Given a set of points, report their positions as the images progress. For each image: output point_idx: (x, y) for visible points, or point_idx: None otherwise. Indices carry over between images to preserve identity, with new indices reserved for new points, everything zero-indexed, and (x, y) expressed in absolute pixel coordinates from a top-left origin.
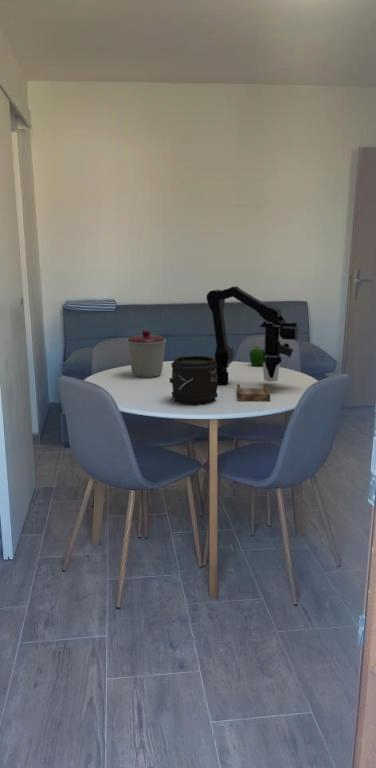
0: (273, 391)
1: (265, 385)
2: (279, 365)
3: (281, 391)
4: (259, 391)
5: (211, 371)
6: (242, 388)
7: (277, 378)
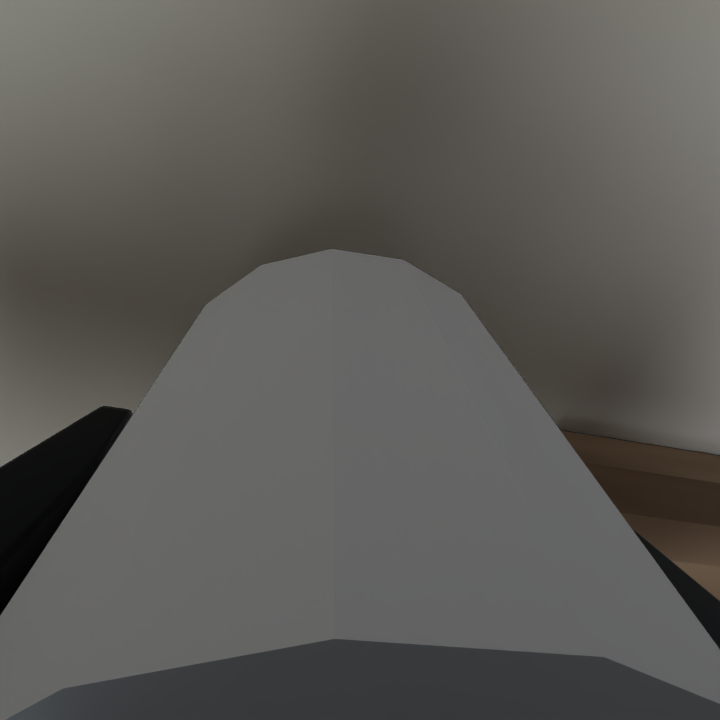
0: (598, 336)
1: (650, 540)
2: (557, 554)
3: (659, 202)
4: (702, 578)
5: None
6: None
7: (458, 304)
